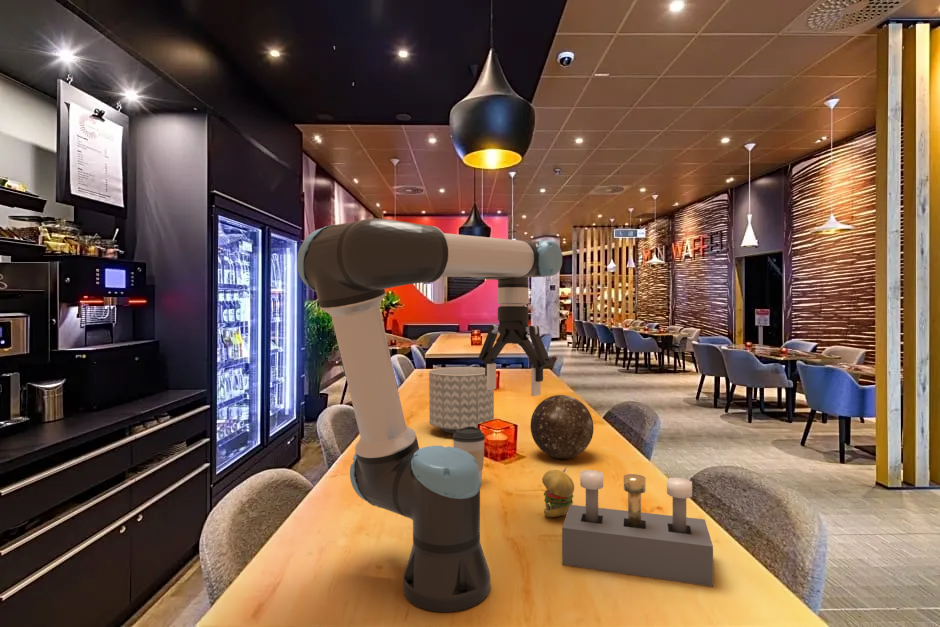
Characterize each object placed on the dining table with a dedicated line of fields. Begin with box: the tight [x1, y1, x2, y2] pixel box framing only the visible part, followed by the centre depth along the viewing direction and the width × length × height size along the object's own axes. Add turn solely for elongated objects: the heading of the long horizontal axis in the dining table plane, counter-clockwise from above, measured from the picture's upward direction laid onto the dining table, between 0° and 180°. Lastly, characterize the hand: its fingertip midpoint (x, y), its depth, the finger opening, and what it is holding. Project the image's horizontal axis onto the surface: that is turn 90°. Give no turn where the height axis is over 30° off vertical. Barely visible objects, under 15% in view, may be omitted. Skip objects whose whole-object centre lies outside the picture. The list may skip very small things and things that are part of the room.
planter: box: [428, 366, 495, 435], centre depth 203 cm, size 25×25×24 cm
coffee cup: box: [452, 426, 486, 485], centre depth 144 cm, size 9×9×15 cm
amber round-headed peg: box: [623, 473, 647, 528], centre depth 100 cm, size 4×4×10 cm
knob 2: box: [666, 477, 693, 534], centre depth 97 cm, size 4×4×10 cm
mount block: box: [561, 504, 714, 587], centre depth 100 cm, size 12×26×7 cm, turn 72°
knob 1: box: [579, 469, 604, 523], centre depth 102 cm, size 4×4×10 cm
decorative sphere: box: [529, 394, 594, 459], centre depth 168 cm, size 20×20×20 cm
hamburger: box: [541, 466, 575, 518], centre depth 121 cm, size 8×7×12 cm
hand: (512, 392), depth 128 cm, fingers open, 13 cm apart
